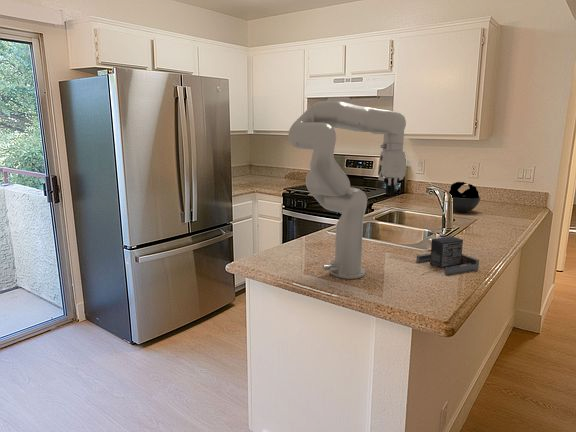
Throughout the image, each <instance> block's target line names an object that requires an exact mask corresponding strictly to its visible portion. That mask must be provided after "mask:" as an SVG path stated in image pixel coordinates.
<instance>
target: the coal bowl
mask: <svg viewBox="0 0 576 432" xmlns="http://www.w3.org/2000/svg"><path fill="white" fill-rule="evenodd" d="M466 184H467V186H468V187H469V188H467V189H465V190H464V191H463V192H460V191H459V190H460V189H461V187H462V186H464V185H466ZM448 192H449V193H450V194H451V195H452V198H453V209H452V210H454V211H456V212H459V213H468V212H470V211H472V210H474V209H475V208H476V207H477V206H478V205H479V203H480V201H481V196H480V195H479V190H478V189H477V187H476V186H474V185H473V184H471V183H467V182H465V181H456V182H453V183H452V184H451V185H450V189H449V191H448Z"/></svg>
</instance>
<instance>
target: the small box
mask: <svg viewBox="0 0 576 432" xmlns="http://www.w3.org/2000/svg"><path fill="white" fill-rule="evenodd" d="M463 244H464V239H462V238H459V237H455V236H444V237H437V238H432V239H431V247H430V248H431V249H430V253H431V258H430V261H429V265H432V266H433V267H436V268H438V269H441V270H442V269H445V267H451V266H457V265H461V257H462V254H463Z"/></svg>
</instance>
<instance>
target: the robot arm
mask: <svg viewBox="0 0 576 432" xmlns="http://www.w3.org/2000/svg"><path fill="white" fill-rule="evenodd" d="M406 126H407V121H406V118H405V116H404V115H403V114H402V113H400V112H397V111H394V110H393V111H392V110H388V109H380V108H374V107H370V106H364V105H363V106H362V105H358V104H352V103H350V102H345V101H341V100H328V101H325V100H324V101H317V102H315V103H314V104H312V105H311V106H310V107H309V108H308V109H306V110H305V111H304V112H303V113H302V114H301V115H300V116H299V117H298V118H297V119H296V120H295V121H294V122H293V123H292V125H291V126H290V128H289V130H288V134H287V135H288V137H287V139H288V141H289V143H290V145H291V146H292V147H294V148H296V149H301V150H313V151H312V154H311V157H310V162H309V169H310V170H309V171H308V172H307V173H306V177H305V186H306V189H307V191H308V193H310V195H311V196H312V197H313V198H314V199H315V200H316V201H317V202H318V204H320V206H321V207H322V208H324V209H325V210H327V211H330V212H334V213H335V212H336V213H339V214H341V215H340V217H339V219H338V220H337V222H336V226H335V250H334V252H335V254H334V260H331V261H332V262H331V263H330V264H323V265H322V270H323V271H329V272H330V274H331V275H332V276H333V277H337V278H340V279H345V280H352V279H353V280H354V279H360V278H363V277H364V276H365V275H366V270H365V269H364V268H363V267H362V253H363V251H362V249H363V233H364V232H363V231H364V230H363V229H364V221H365V220H364V219H365V214H366V209H367V206H368V197H367V195H366V193H365V192H364V191H363V190H361V189H359V188H356V187H351V181H350V179H349V177H348V175H347V174H346V173H345V172H344V170H343V168H341V166H340V165H339V164H338V162H337V161H336V159H335V155H334V154H335V147H336V142H337V134H336V131H335V129H341V130H347V131H353V132H360V133H361V132H362V133H371V134H373V135H383V140H382V141H383V142H382V144H381V145H380V149H382V151H380V156H379V161H378V167H377V175H378V178H377V179H378V181H382V182H383V183H384V185H385V195H387V196H392V197H393V196H395V191H396V190H395V188H396V186H397V183H398V182H399V181H402V180H403V179H404V177H405V176H406V172H407V159H406V152H405V150H404V141H405V140H404V139H405V129H406Z"/></svg>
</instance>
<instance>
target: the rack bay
mask: <svg viewBox="0 0 576 432" xmlns="http://www.w3.org/2000/svg"><path fill="white" fill-rule="evenodd" d="M430 258H431V252H430V253H425V254H424V253H423V254H417V255H416V261H415V262H417V263H423V262H425V263H426V262H430ZM479 263H480V259H478V258H475V257H473V256H469V255H467V254H464V253H462V257H461V265H457V266H451V267H445V268H444V274H445V275H447V276H451V275H457V274H463V273H468V272H474V271H478V270H479Z"/></svg>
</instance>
